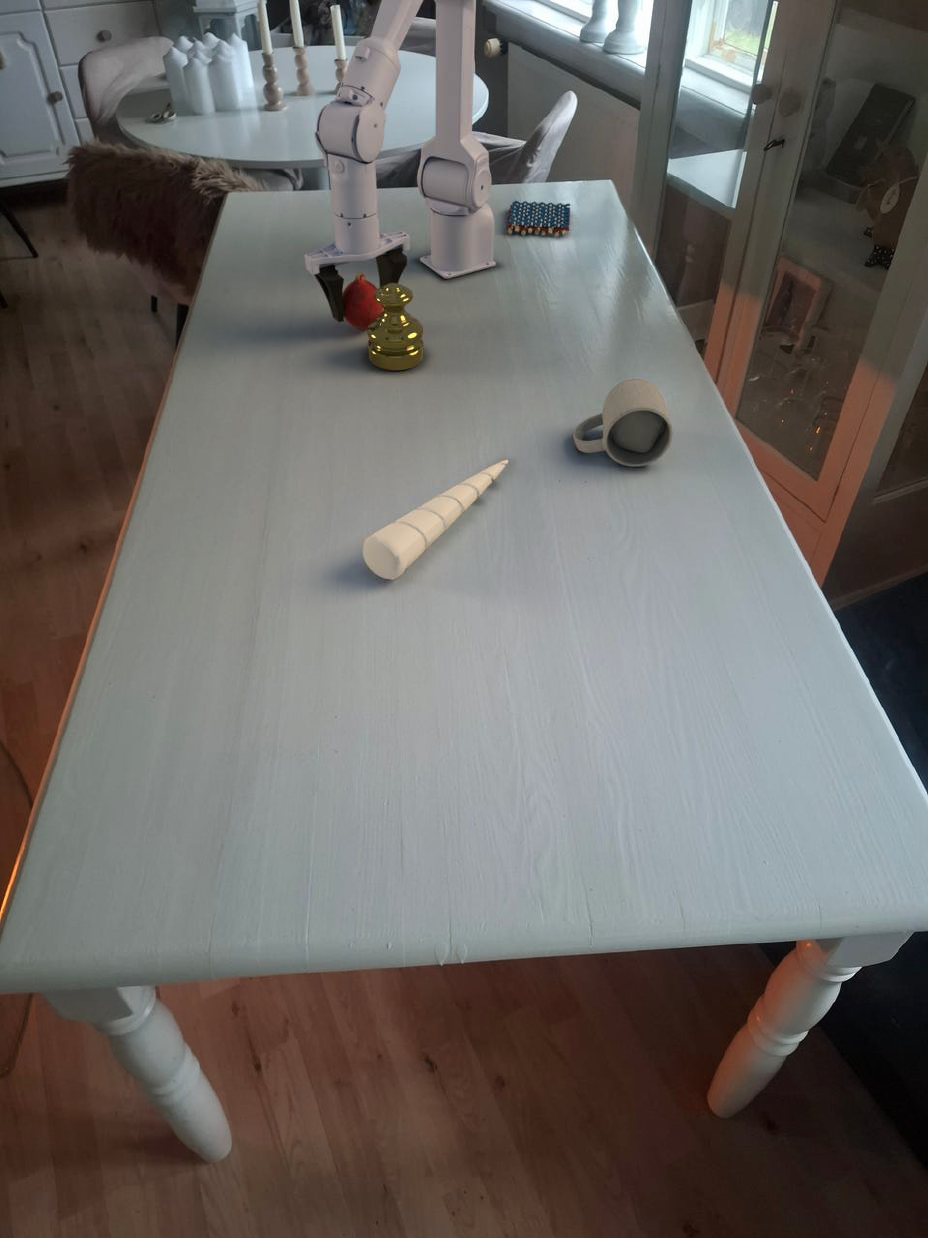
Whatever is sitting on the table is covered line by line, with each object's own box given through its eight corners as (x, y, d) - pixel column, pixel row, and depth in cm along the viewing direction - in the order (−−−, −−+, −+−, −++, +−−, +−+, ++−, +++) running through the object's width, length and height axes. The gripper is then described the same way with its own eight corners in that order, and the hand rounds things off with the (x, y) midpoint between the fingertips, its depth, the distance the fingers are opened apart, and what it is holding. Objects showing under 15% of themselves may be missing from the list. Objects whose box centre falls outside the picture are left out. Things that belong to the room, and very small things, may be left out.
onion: (377, 342, 119) (374, 285, 113) (337, 337, 119) (332, 281, 114) (388, 322, 123) (386, 267, 117) (349, 317, 123) (345, 262, 118)
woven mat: (509, 210, 151) (509, 198, 150) (569, 213, 151) (571, 201, 149) (505, 234, 144) (505, 222, 143) (568, 238, 143) (570, 225, 142)
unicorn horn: (534, 476, 98) (537, 440, 95) (396, 590, 85) (394, 553, 82) (501, 460, 100) (503, 425, 97) (361, 569, 87) (357, 533, 84)
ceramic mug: (657, 428, 105) (668, 371, 100) (666, 468, 99) (678, 410, 94) (570, 426, 105) (576, 370, 100) (574, 467, 100) (581, 409, 94)
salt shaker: (410, 339, 119) (408, 268, 112) (432, 365, 115) (431, 292, 107) (360, 350, 117) (355, 278, 110) (380, 376, 112) (376, 303, 105)
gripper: (389, 188, 114) (394, 287, 124) (289, 210, 109) (302, 312, 119) (416, 206, 110) (419, 307, 120) (314, 230, 105) (325, 334, 114)
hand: (362, 311), depth 119 cm, fingers open, 7 cm apart
